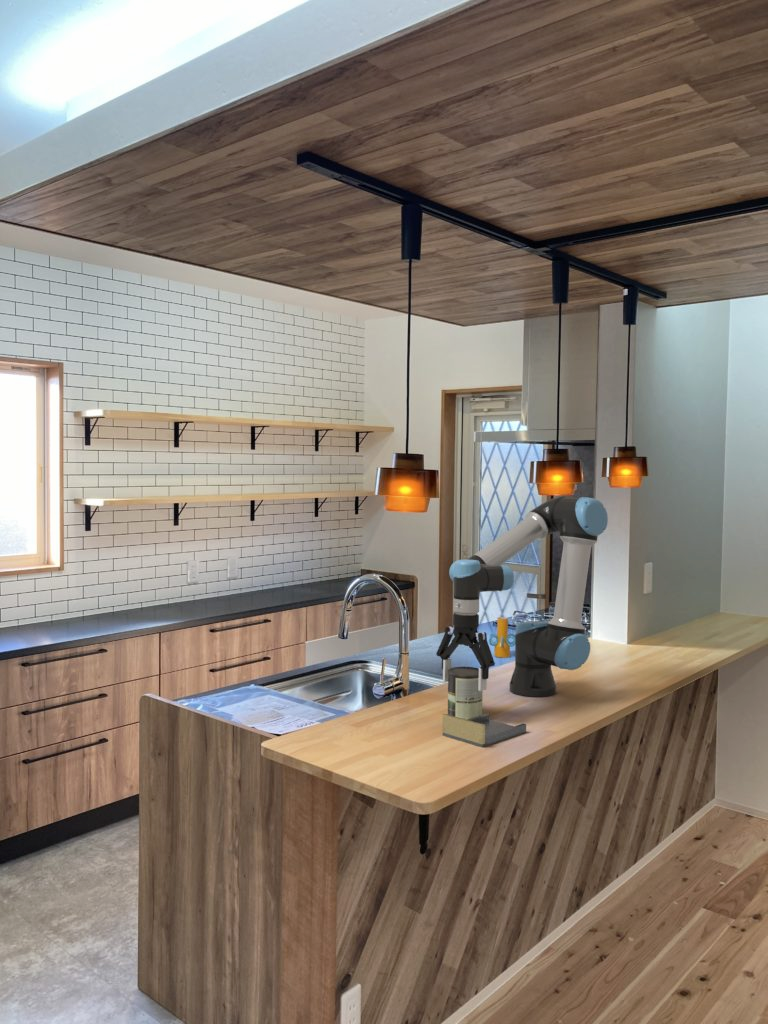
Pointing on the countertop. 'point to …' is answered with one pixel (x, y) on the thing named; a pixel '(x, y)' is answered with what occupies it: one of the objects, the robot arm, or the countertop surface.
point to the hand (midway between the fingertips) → (464, 685)
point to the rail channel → (479, 730)
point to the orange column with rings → (502, 639)
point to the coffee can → (464, 692)
